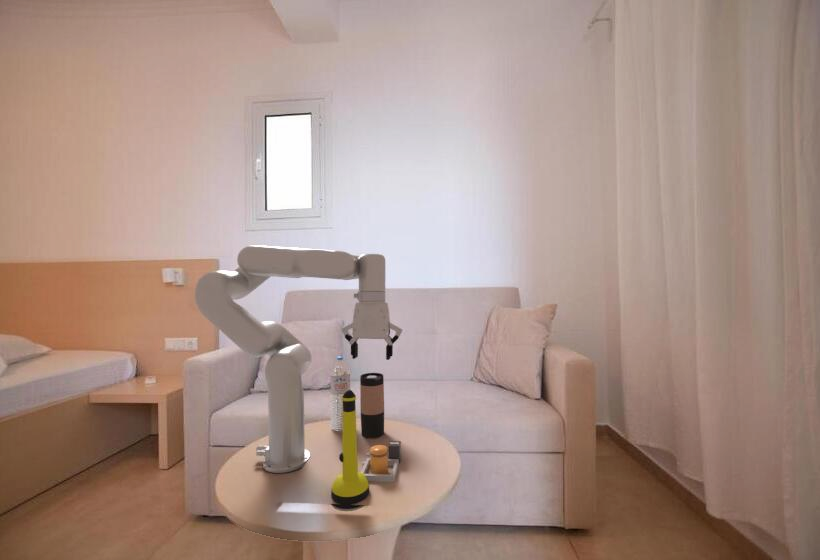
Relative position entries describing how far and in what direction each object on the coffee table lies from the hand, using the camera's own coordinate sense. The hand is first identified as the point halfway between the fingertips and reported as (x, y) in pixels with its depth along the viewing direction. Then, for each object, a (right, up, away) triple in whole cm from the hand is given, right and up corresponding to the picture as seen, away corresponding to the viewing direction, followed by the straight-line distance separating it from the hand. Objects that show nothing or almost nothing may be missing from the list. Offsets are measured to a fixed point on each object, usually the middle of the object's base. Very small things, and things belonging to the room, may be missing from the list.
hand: (371, 358), depth 100 cm
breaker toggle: (+7, -27, -3) cm, 28 cm away
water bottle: (-13, -29, +20) cm, 38 cm away
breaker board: (+1, -28, -6) cm, 29 cm away
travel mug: (-1, -29, +14) cm, 32 cm away
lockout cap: (+3, -27, -9) cm, 29 cm away
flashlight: (-3, -29, -18) cm, 34 cm away
